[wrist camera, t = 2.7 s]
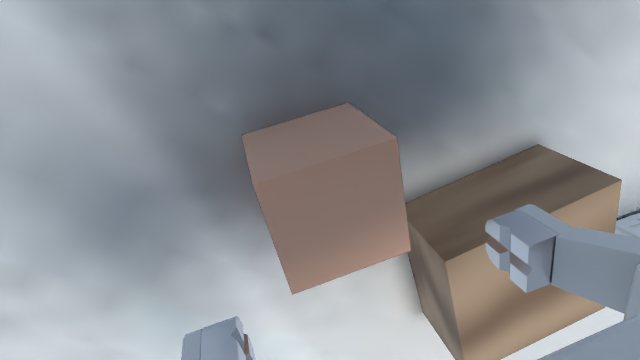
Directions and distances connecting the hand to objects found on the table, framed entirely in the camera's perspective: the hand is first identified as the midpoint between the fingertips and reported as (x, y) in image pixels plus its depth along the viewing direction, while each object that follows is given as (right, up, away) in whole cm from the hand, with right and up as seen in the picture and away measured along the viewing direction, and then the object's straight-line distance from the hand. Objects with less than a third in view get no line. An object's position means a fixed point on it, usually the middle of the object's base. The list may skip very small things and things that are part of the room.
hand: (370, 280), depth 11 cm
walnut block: (+8, 0, +11) cm, 14 cm away
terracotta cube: (-2, +4, +6) cm, 8 cm away
